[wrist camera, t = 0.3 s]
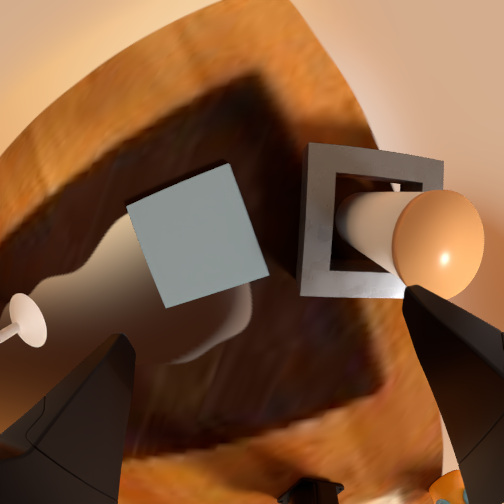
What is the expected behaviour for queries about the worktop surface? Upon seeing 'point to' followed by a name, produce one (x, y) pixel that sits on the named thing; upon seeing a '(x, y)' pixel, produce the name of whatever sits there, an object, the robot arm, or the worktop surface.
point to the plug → (416, 236)
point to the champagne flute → (25, 321)
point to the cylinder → (449, 489)
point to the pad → (198, 237)
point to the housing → (322, 213)
